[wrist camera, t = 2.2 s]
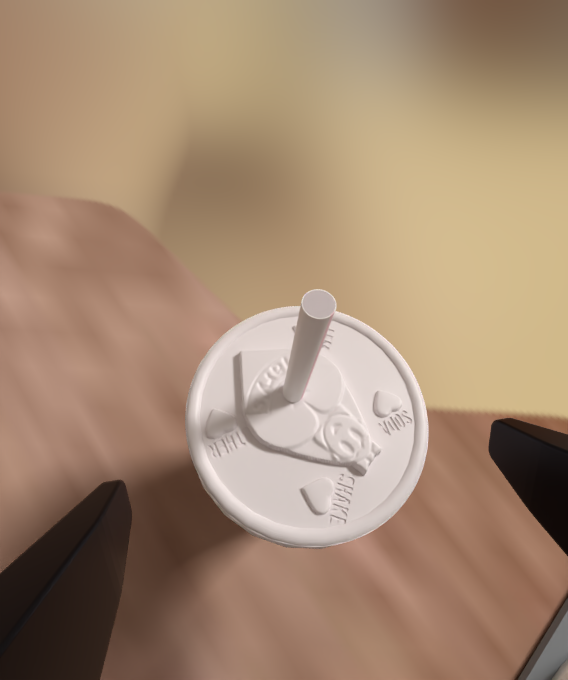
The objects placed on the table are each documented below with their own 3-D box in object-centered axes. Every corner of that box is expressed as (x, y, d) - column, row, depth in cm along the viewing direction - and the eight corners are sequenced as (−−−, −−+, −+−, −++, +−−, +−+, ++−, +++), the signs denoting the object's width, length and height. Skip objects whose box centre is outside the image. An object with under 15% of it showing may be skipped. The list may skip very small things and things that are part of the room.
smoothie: (275, 379, 20) (311, 134, 8) (372, 458, 19) (613, 313, 6) (187, 473, 18) (32, 337, 5) (291, 575, 16) (424, 726, 4)
